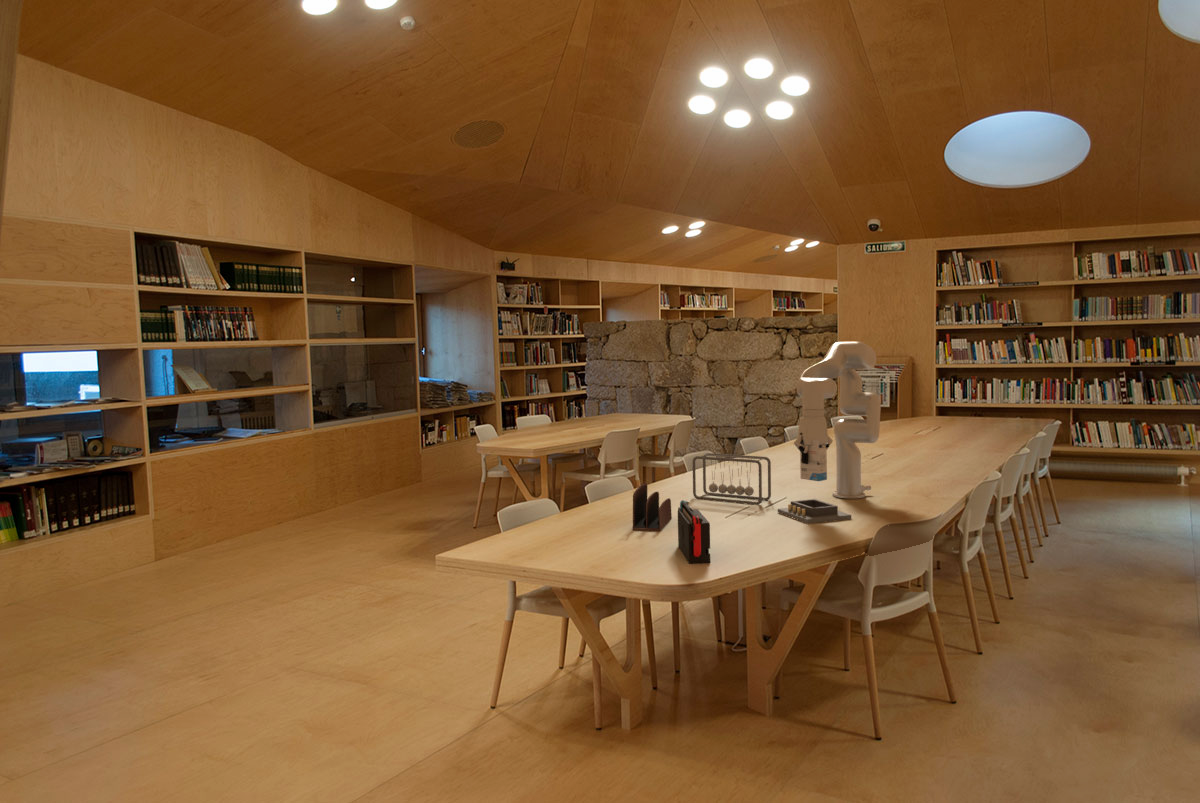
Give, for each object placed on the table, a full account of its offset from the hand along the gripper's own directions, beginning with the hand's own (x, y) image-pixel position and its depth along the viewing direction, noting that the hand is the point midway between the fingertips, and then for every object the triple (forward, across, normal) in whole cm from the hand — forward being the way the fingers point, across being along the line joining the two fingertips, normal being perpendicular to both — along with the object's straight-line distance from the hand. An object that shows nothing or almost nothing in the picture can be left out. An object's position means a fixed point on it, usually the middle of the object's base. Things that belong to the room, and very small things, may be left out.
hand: (813, 462), depth 295 cm
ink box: (+6, 0, 0) cm, 6 cm away
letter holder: (+20, +58, -12) cm, 63 cm away
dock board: (+20, 0, 0) cm, 20 cm away
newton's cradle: (+20, +13, -40) cm, 46 cm away
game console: (+20, +62, +30) cm, 72 cm away
